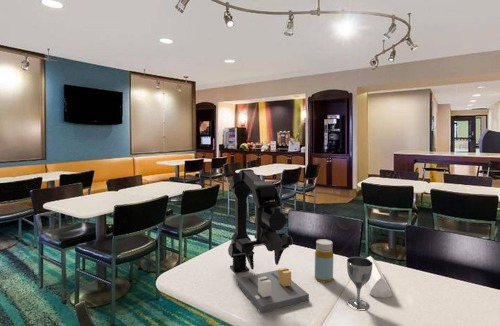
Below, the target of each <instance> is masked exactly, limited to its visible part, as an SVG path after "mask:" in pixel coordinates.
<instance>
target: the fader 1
mask: <svg viewBox="0 0 500 326" xmlns="http://www.w3.org/2000/svg"><path fill="white" fill-rule="evenodd" d="M258 293H259V294H260V295H261V296H262V297H267V296H271V281H270V280H269V278H267V277H266V276H265V277H261V278H258Z"/></svg>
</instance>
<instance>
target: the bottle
mask: <svg viewBox="0 0 500 326" xmlns="http://www.w3.org/2000/svg"><path fill="white" fill-rule="evenodd" d="M315 245H316V246H315V248H316V249H315V251H314V279H316V280H317V281H318V282H322V283H329V282H331V281H332V280H333V279H334V252H333V241H332V240H330V239H323V238H322V239H316V241H315Z"/></svg>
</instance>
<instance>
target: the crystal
mask: <svg viewBox="0 0 500 326" xmlns="http://www.w3.org/2000/svg"><path fill="white" fill-rule="evenodd" d="M365 258H366V259H369V260H370V261H372V264H373V265H372V274H371V277H370V280H369V281H368V282H367V283H366V284H365V286H366V288H367V292H368V294H369V295H371V296H372V297H375V298H378V299H379V298H381V299H387V298H390V297H392V296H393V293H392V290H391V288H390V285H389V284H388V282H387V280H386V277H385V276H384V275H383V273H382V270H381V269H380V267H379V265H378V264H377V262H376V260H375V258H373V257H372V256H371V255H369V256H367V257H365Z"/></svg>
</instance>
